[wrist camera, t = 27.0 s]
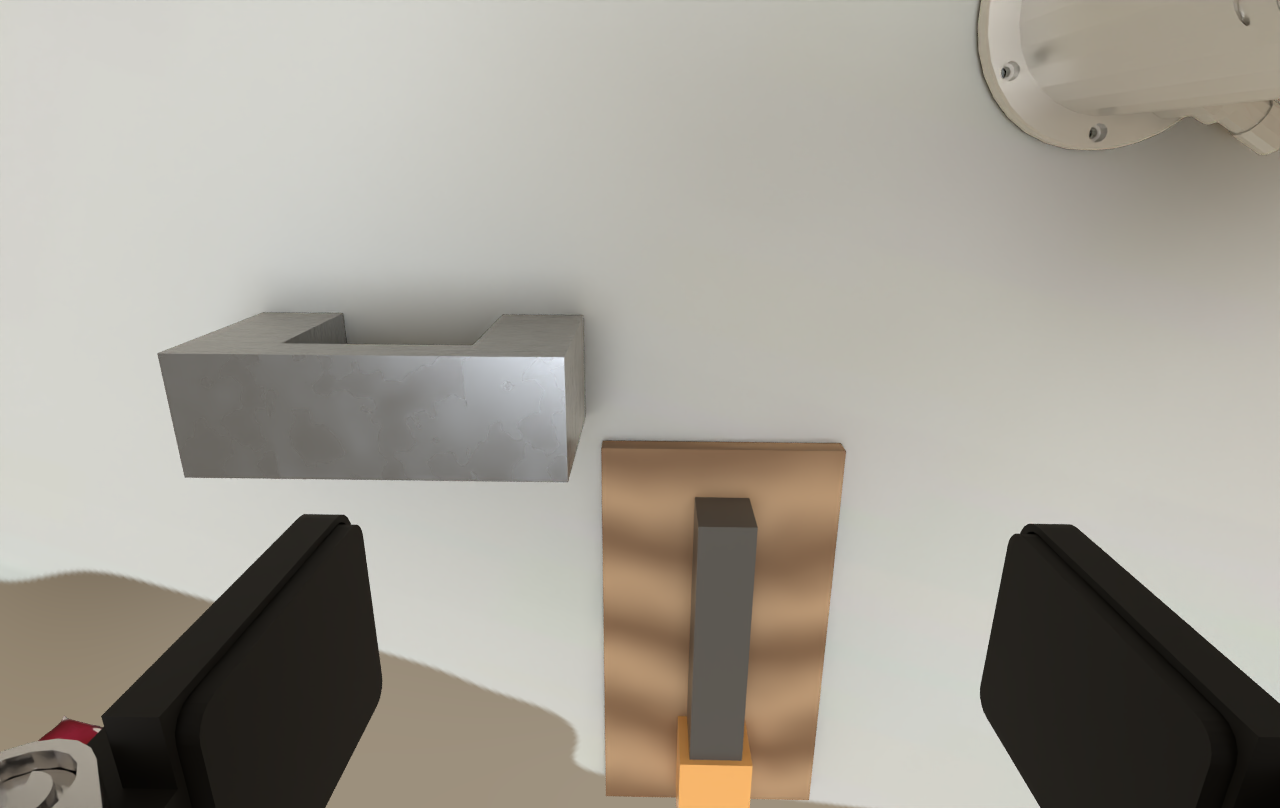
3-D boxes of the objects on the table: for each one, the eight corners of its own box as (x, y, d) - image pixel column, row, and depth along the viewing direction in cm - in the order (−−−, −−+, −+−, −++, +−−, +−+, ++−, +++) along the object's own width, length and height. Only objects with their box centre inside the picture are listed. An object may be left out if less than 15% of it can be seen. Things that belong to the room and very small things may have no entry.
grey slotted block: (263, 312, 40) (157, 353, 31) (583, 315, 40) (564, 357, 31) (280, 413, 42) (184, 477, 33) (585, 416, 42) (567, 482, 33)
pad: (602, 440, 42) (601, 448, 41) (840, 443, 42) (845, 451, 41) (607, 781, 51) (606, 795, 49) (805, 785, 50) (808, 799, 49)
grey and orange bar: (684, 496, 42) (687, 530, 38) (759, 498, 42) (770, 531, 38) (675, 799, 49) (677, 852, 46) (739, 801, 49) (745, 854, 46)
